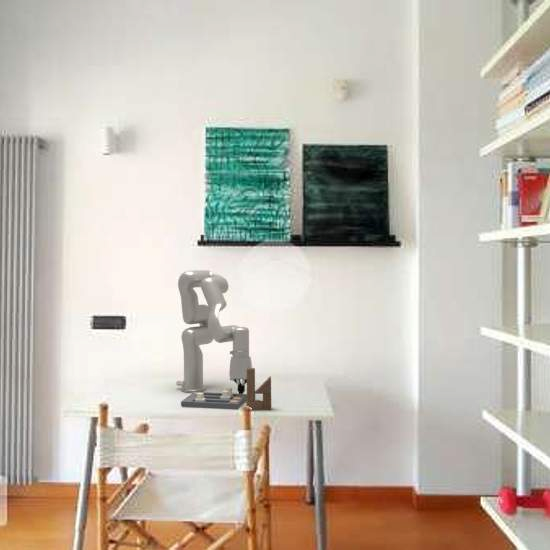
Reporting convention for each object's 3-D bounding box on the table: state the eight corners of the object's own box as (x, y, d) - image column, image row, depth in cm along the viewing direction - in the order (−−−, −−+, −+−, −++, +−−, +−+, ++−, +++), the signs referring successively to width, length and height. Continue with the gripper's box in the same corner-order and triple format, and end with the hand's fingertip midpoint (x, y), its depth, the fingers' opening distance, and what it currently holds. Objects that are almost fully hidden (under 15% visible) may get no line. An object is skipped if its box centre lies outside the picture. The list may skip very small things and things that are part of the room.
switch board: (181, 406, 249) (180, 400, 249) (194, 397, 267) (194, 391, 267) (237, 409, 244) (237, 403, 244) (247, 399, 262) (247, 393, 262)
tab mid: (220, 401, 253) (220, 391, 253) (222, 399, 256) (222, 390, 256) (228, 402, 253) (228, 392, 252) (230, 400, 256) (230, 390, 256)
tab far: (223, 398, 259) (223, 388, 259) (225, 396, 262) (225, 387, 262) (232, 398, 259) (232, 389, 258) (234, 397, 262) (233, 387, 262)
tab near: (194, 404, 249) (194, 394, 249) (197, 402, 252) (197, 392, 252) (203, 404, 249) (203, 394, 248) (205, 402, 252) (205, 392, 252)
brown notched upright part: (271, 410, 243) (271, 368, 243) (246, 410, 242) (246, 369, 242) (270, 407, 247) (270, 367, 246) (246, 408, 246) (246, 367, 246)
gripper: (223, 354, 256) (223, 394, 257) (255, 355, 254) (255, 395, 254) (227, 352, 264) (227, 390, 264) (258, 353, 261) (258, 392, 262)
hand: (241, 393), depth 259 cm, fingers closed
